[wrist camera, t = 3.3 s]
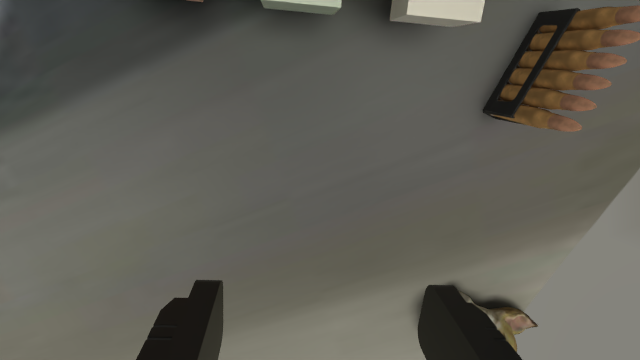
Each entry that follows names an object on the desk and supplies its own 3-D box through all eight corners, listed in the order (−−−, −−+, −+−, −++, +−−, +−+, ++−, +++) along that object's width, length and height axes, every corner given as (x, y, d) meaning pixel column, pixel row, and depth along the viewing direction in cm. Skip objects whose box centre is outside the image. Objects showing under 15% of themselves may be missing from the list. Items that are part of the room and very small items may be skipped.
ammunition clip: (495, 118, 38) (582, 144, 27) (481, 111, 38) (564, 134, 27) (554, 20, 36) (678, 3, 24) (539, 11, 35) (659, -10, 24)
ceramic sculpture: (486, 309, 35) (577, 359, 40) (446, 259, 43) (525, 306, 48) (419, 381, 38) (512, 420, 42) (393, 321, 46) (473, 360, 51)
